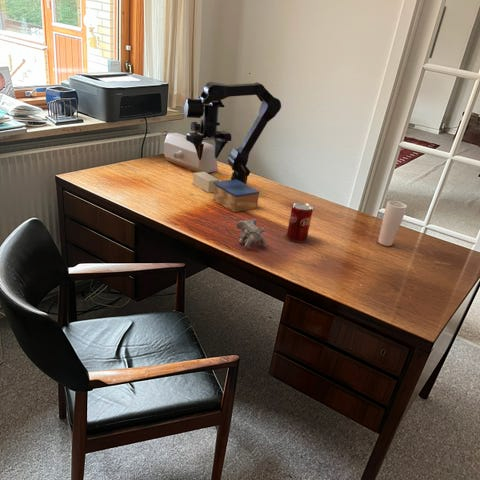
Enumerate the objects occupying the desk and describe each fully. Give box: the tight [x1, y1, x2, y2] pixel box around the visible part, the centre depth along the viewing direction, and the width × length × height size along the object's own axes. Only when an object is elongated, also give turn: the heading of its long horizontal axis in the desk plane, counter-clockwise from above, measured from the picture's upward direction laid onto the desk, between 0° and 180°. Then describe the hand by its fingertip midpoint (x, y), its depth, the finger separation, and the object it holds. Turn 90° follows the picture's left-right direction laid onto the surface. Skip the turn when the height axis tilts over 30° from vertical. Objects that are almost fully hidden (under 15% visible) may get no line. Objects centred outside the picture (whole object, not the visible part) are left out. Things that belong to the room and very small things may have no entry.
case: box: [192, 172, 220, 194], centre depth 200 cm, size 11×5×5 cm, turn 40°
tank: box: [163, 132, 219, 174], centre depth 218 cm, size 25×16×12 cm, turn 52°
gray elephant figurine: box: [236, 218, 266, 250], centre depth 158 cm, size 9×12×8 cm
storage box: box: [212, 186, 260, 213], centre depth 188 cm, size 14×12×6 cm
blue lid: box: [214, 179, 260, 197], centre depth 186 cm, size 14×12×1 cm
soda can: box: [286, 201, 314, 243], centre depth 165 cm, size 7×7×12 cm
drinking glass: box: [377, 200, 408, 247], centre depth 169 cm, size 7×7×15 cm
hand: (207, 158), depth 195 cm, fingers open, 8 cm apart
